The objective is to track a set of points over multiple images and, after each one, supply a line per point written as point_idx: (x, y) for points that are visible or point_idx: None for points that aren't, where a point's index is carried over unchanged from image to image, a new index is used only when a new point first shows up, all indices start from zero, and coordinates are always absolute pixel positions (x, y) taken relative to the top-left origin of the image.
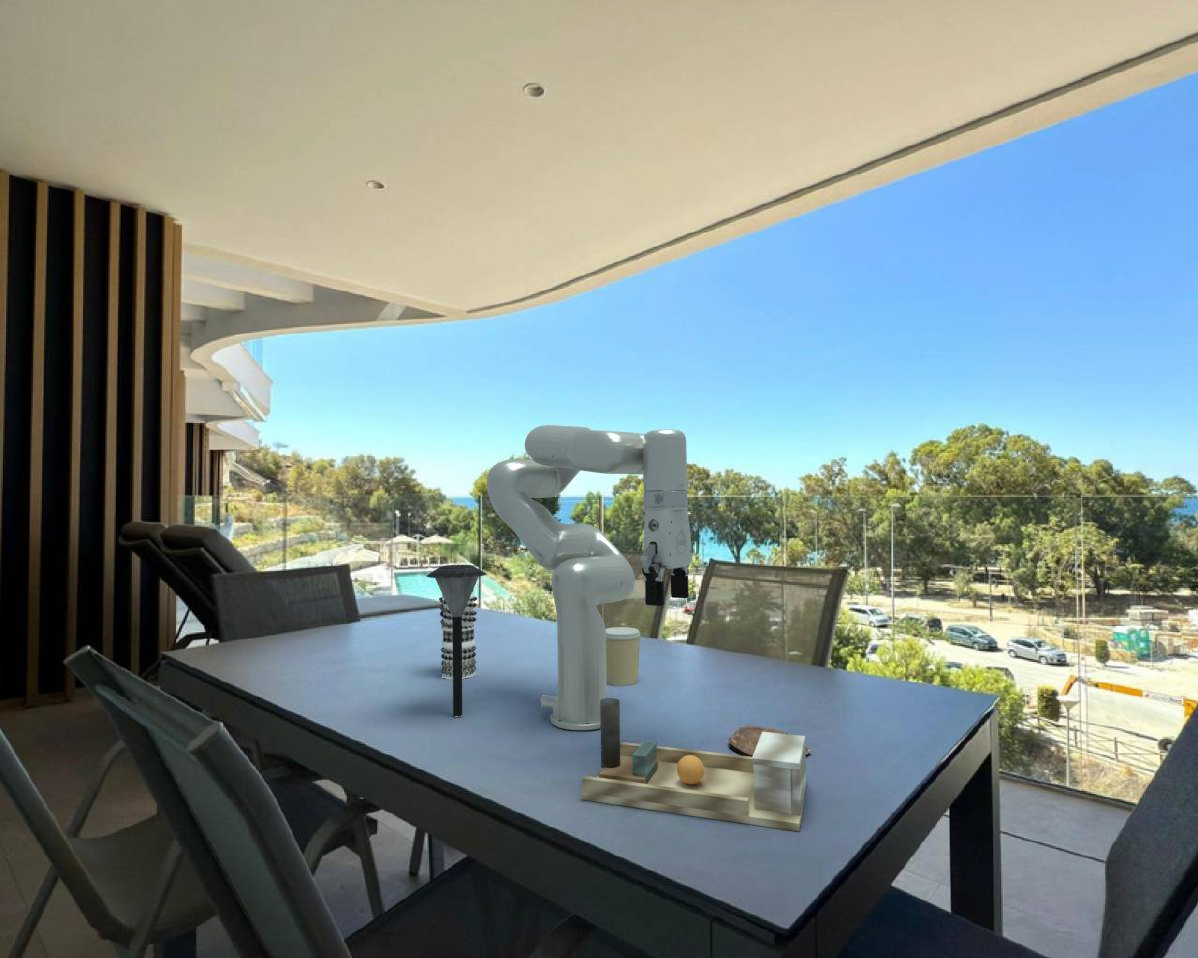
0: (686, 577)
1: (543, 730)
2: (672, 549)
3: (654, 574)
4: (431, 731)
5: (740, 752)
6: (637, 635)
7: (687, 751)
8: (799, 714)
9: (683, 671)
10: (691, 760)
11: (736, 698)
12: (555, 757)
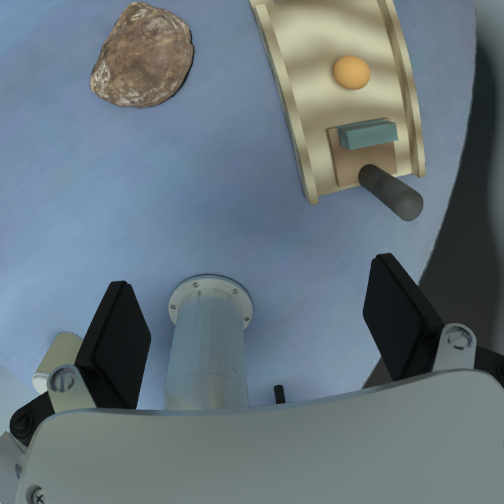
0: (93, 354)
1: (266, 318)
2: (501, 496)
3: (479, 359)
4: (323, 375)
5: (189, 68)
6: (42, 374)
7: (294, 101)
8: (7, 109)
9: (2, 311)
10: (365, 67)
11: (10, 209)
12: (333, 259)
